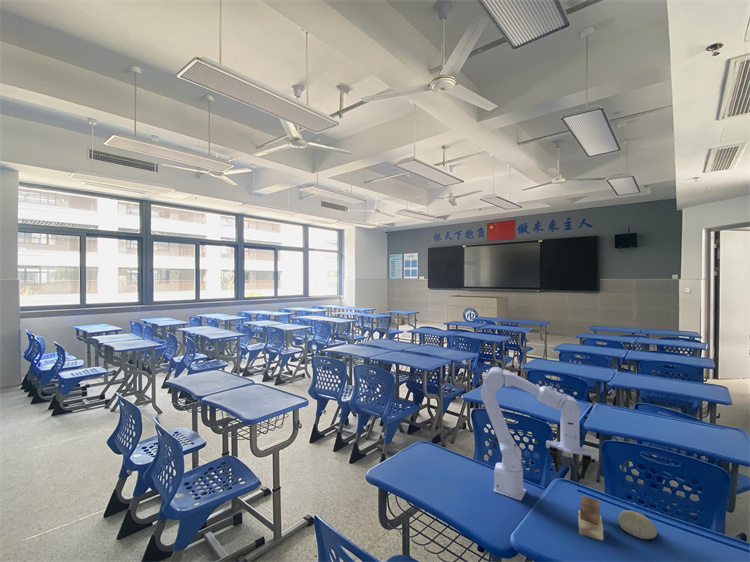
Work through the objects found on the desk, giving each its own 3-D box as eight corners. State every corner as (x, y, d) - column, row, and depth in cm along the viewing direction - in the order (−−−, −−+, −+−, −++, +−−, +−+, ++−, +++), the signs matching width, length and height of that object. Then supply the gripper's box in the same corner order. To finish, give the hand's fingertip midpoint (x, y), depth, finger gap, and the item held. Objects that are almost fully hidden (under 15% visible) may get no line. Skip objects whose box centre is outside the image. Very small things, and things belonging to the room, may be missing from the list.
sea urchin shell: (644, 540, 98) (624, 507, 103) (625, 546, 103) (607, 515, 109) (667, 534, 100) (647, 503, 106) (648, 540, 105) (629, 510, 111)
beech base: (579, 534, 103) (579, 520, 103) (578, 522, 108) (578, 509, 108) (603, 541, 100) (603, 527, 100) (601, 529, 105) (600, 515, 105)
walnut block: (580, 518, 104) (580, 501, 104) (582, 511, 107) (582, 495, 107) (598, 525, 101) (598, 507, 101) (599, 517, 104) (599, 500, 105)
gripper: (544, 431, 119) (544, 472, 118) (593, 443, 110) (594, 486, 110) (548, 425, 124) (548, 464, 124) (595, 436, 116) (596, 477, 115)
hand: (570, 474), depth 117 cm, fingers open, 7 cm apart
